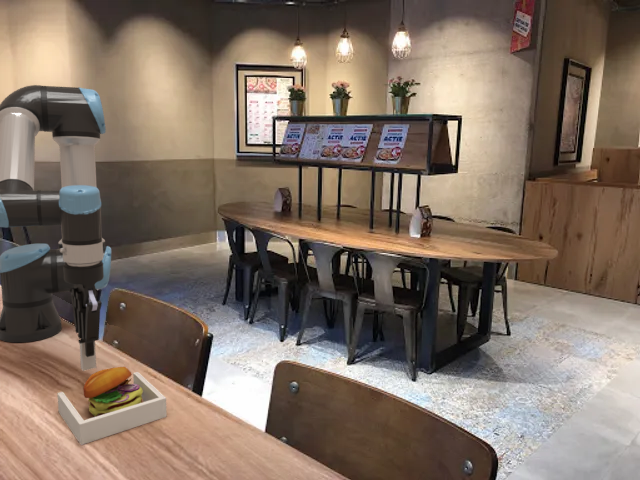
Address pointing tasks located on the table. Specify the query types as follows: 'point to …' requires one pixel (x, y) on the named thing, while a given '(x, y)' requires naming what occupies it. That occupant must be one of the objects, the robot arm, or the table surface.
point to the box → (114, 414)
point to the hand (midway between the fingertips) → (88, 367)
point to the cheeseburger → (111, 391)
